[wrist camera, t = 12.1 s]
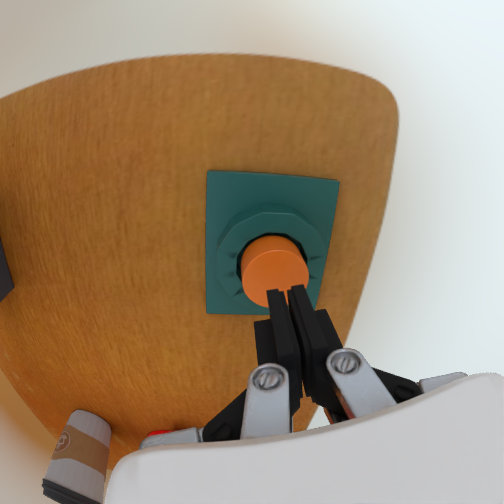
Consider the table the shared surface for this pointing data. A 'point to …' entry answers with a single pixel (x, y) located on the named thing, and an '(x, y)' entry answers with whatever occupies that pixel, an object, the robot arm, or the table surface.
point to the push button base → (263, 229)
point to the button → (271, 268)
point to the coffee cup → (79, 461)
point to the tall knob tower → (4, 276)
